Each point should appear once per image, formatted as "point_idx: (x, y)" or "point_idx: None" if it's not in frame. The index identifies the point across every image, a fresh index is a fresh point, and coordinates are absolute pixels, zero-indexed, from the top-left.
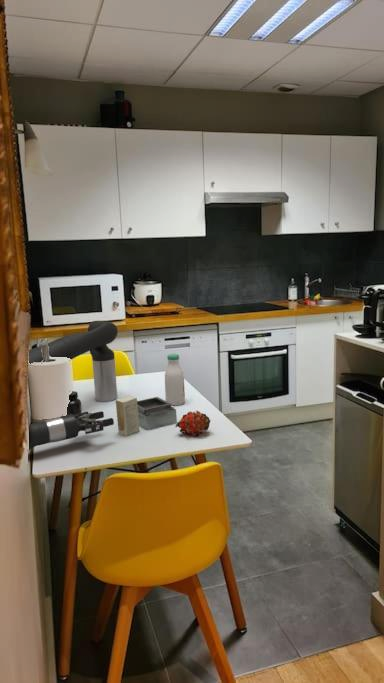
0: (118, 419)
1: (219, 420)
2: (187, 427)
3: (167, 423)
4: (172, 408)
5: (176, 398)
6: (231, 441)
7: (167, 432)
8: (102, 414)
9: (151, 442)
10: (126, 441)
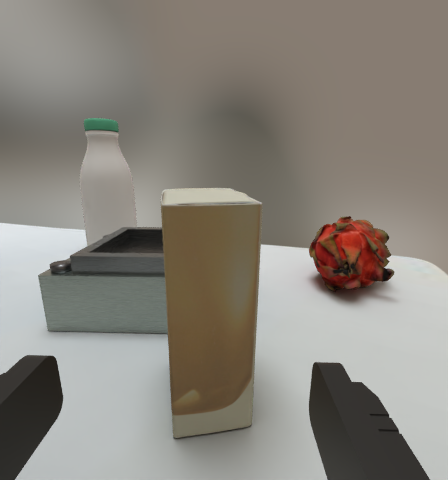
0: (186, 350)
1: (280, 248)
2: (378, 264)
3: None
4: None
5: None
6: (421, 267)
7: (300, 308)
8: (51, 387)
9: (396, 371)
10: None
